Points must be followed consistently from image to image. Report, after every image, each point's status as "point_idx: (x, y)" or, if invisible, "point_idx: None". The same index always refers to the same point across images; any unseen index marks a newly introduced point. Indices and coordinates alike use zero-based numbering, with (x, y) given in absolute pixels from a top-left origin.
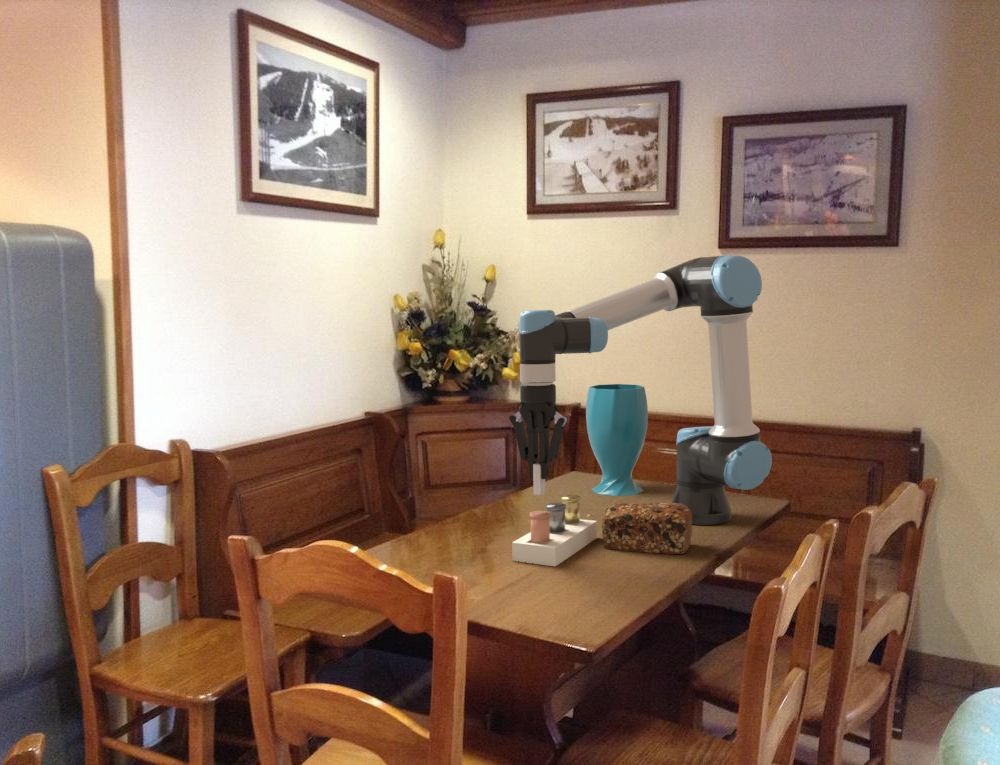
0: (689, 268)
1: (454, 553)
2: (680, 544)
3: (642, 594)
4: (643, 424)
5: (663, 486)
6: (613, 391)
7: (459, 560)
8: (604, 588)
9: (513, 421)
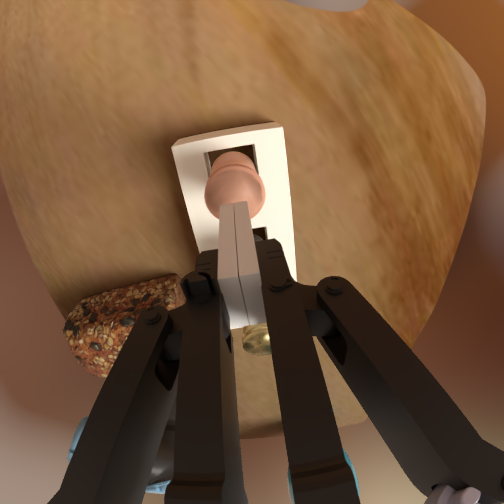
0: None
1: (395, 114)
2: (75, 307)
3: (8, 129)
4: (288, 485)
5: (273, 434)
6: None
7: (366, 79)
8: (49, 107)
9: (493, 470)
